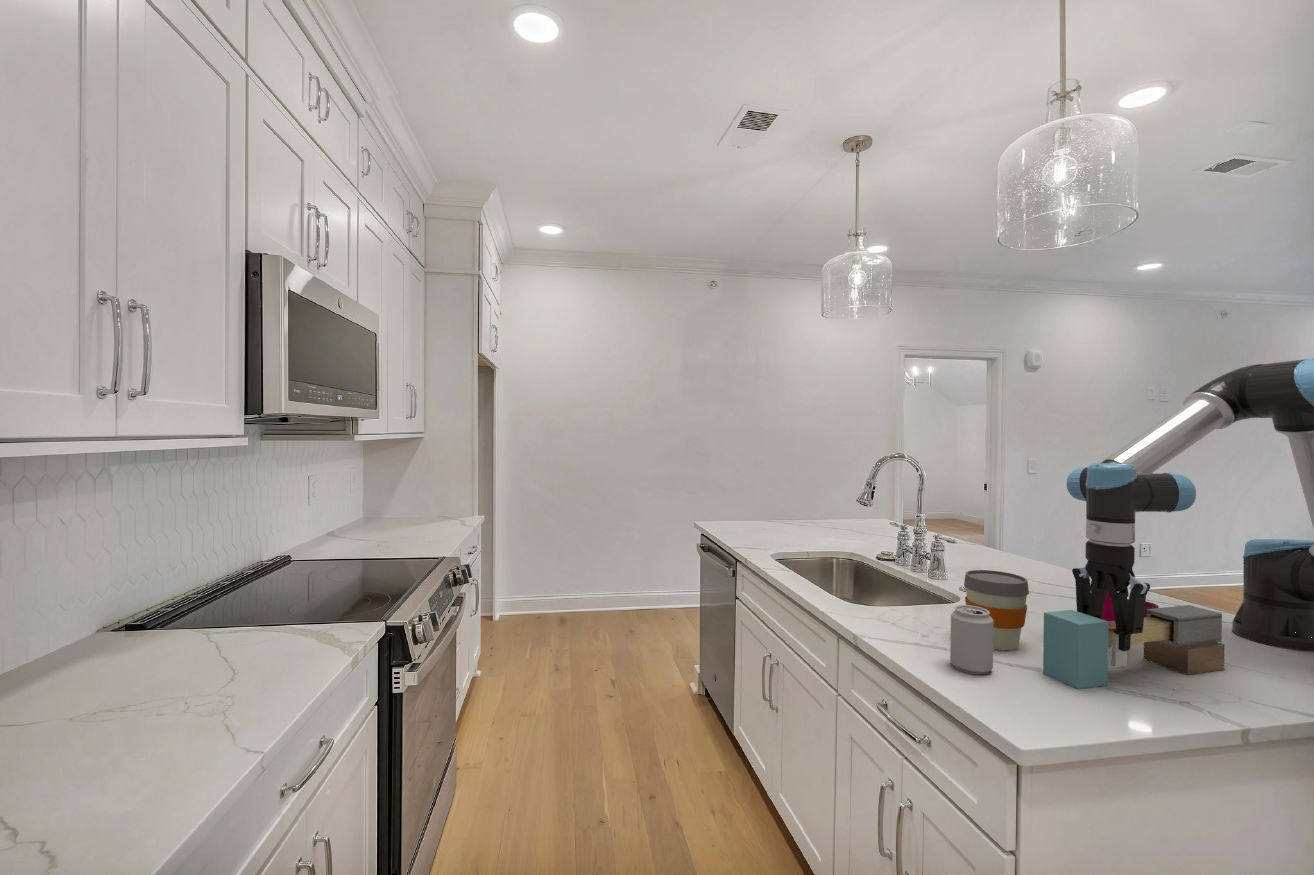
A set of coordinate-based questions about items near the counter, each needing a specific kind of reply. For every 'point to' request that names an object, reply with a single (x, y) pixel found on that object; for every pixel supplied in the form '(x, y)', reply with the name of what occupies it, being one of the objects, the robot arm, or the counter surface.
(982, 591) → the reusable coffee cup
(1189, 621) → the sleeve stand
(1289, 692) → the counter surface
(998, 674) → the counter surface
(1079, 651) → the socket block
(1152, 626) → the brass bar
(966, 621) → the can
